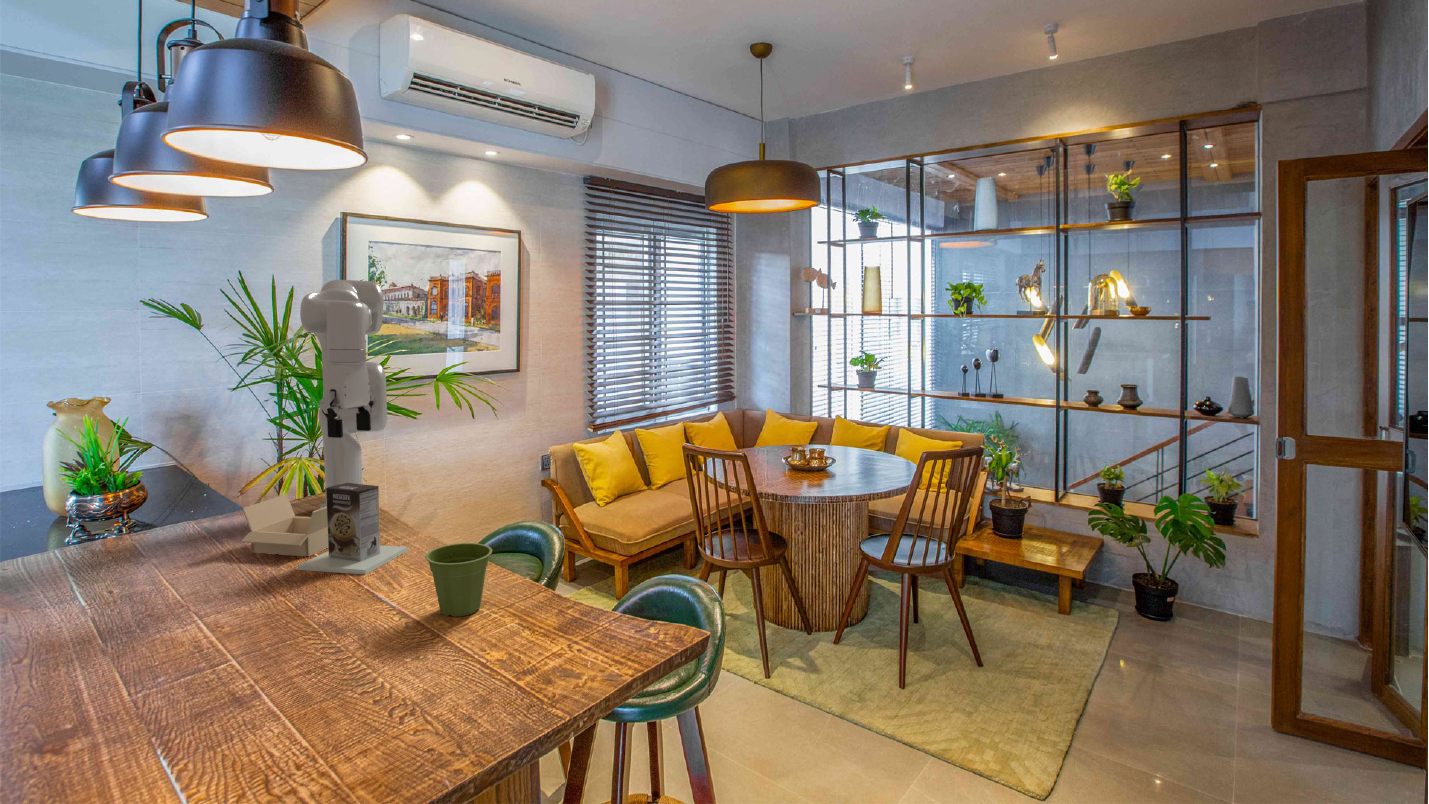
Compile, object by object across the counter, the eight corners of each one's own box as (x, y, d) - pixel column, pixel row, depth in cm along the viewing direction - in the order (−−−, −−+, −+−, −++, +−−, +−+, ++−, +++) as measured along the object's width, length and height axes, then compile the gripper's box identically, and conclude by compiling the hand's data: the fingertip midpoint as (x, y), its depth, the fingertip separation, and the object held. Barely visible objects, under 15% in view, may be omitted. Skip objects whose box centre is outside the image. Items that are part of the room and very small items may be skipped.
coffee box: (327, 557, 157) (324, 487, 155) (349, 549, 163) (346, 481, 161) (360, 562, 154) (357, 491, 152) (381, 553, 160) (379, 484, 159)
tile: (345, 547, 167) (345, 543, 167) (407, 551, 165) (407, 546, 165) (297, 569, 152) (297, 565, 151) (365, 574, 149) (365, 570, 149)
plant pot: (413, 613, 130) (411, 555, 129) (465, 593, 140) (464, 539, 139) (455, 628, 124) (453, 567, 123) (506, 606, 134) (505, 549, 133)
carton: (295, 532, 178) (293, 491, 177) (361, 536, 176) (359, 494, 175) (235, 556, 160) (232, 510, 158) (307, 561, 157) (305, 514, 156)
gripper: (356, 355, 163) (359, 427, 164) (303, 358, 145) (307, 439, 147) (386, 356, 162) (388, 428, 164) (336, 359, 145) (339, 441, 146)
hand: (350, 433), depth 155 cm, fingers open, 9 cm apart
